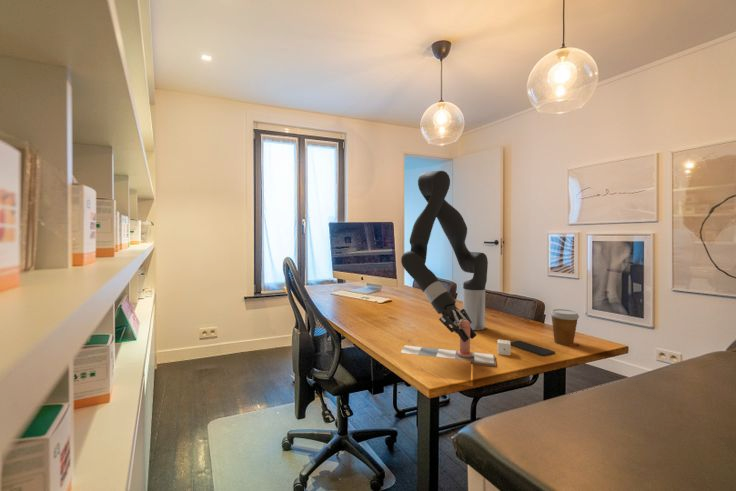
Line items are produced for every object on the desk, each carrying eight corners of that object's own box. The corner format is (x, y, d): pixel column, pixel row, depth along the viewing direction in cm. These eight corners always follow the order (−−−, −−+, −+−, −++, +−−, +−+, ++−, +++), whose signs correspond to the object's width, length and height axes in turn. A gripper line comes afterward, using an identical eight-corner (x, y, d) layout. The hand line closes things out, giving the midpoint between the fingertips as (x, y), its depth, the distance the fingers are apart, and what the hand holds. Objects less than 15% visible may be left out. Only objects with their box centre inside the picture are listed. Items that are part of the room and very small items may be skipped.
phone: (519, 340, 134) (556, 351, 121) (519, 342, 134) (556, 354, 121) (506, 342, 130) (543, 355, 117) (506, 345, 130) (543, 357, 117)
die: (497, 350, 123) (497, 339, 123) (509, 351, 122) (509, 340, 122) (497, 354, 119) (498, 342, 119) (510, 355, 118) (510, 343, 118)
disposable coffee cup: (580, 342, 132) (581, 311, 132) (574, 348, 125) (575, 315, 125) (553, 337, 139) (554, 307, 138) (546, 342, 132) (547, 311, 131)
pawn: (457, 352, 118) (458, 317, 117) (472, 353, 116) (473, 318, 116) (456, 357, 113) (457, 321, 113) (472, 358, 112) (472, 322, 111)
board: (403, 347, 126) (403, 344, 126) (494, 357, 116) (494, 354, 116) (398, 355, 117) (398, 353, 117) (496, 366, 108) (496, 363, 108)
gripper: (434, 293, 114) (467, 337, 106) (456, 288, 124) (488, 328, 116) (421, 306, 118) (452, 350, 110) (443, 300, 128) (473, 340, 120)
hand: (470, 338), depth 113 cm, fingers open, 4 cm apart
